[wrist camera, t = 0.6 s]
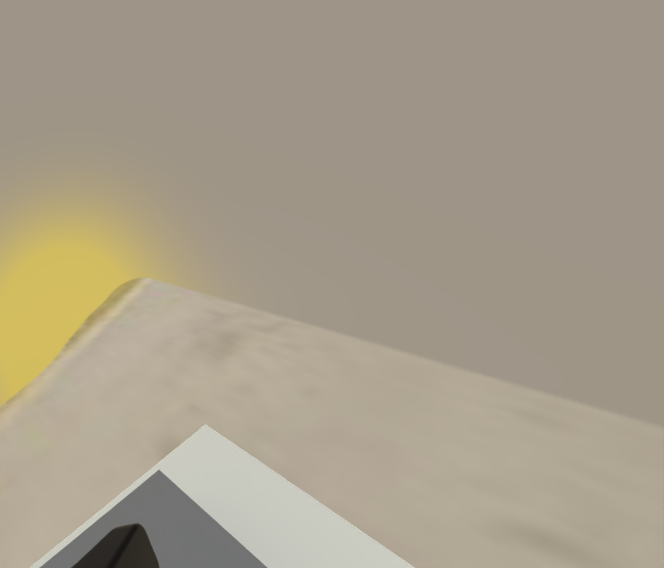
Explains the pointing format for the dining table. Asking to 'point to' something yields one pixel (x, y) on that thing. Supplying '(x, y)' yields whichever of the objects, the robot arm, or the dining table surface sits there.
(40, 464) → the dining table surface
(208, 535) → the socket block
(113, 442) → the dining table surface
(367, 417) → the dining table surface
